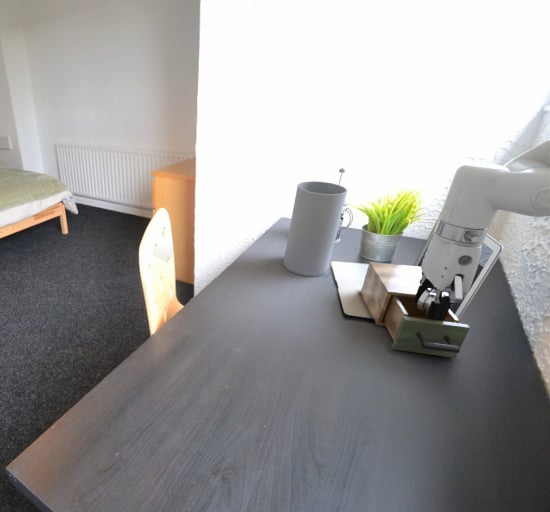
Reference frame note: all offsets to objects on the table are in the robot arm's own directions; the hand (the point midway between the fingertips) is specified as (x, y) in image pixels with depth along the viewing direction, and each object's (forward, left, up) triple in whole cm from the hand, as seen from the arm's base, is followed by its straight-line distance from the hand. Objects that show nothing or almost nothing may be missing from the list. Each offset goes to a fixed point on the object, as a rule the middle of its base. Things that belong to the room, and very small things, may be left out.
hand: (428, 309), depth 77 cm
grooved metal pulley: (0, 0, -1) cm, 1 cm away
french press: (+8, -55, -9) cm, 56 cm away
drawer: (0, 0, -8) cm, 8 cm away
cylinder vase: (+19, -31, -9) cm, 37 cm away
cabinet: (0, -12, -9) cm, 15 cm away
